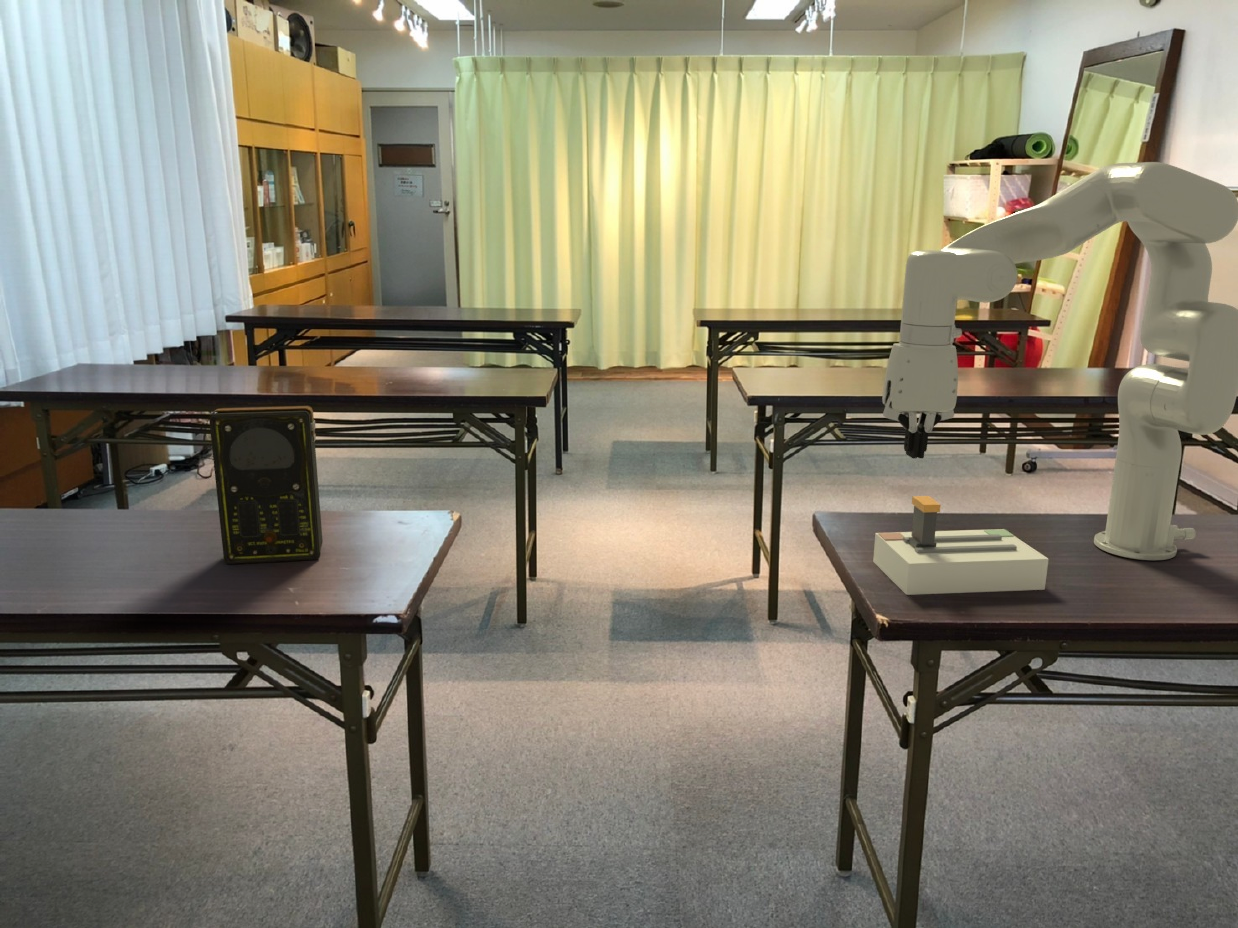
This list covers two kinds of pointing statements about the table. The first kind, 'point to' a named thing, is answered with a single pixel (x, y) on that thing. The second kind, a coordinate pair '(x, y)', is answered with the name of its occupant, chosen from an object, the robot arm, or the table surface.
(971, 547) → the switch box
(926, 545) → the handle
